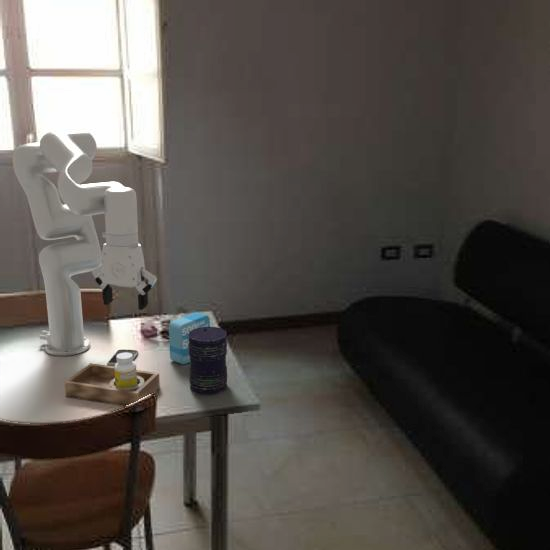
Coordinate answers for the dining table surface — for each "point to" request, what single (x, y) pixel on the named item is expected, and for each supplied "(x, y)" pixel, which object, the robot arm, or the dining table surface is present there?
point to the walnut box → (109, 385)
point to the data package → (184, 335)
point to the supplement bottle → (125, 371)
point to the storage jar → (208, 360)
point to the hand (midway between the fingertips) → (125, 305)
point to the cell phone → (114, 359)
